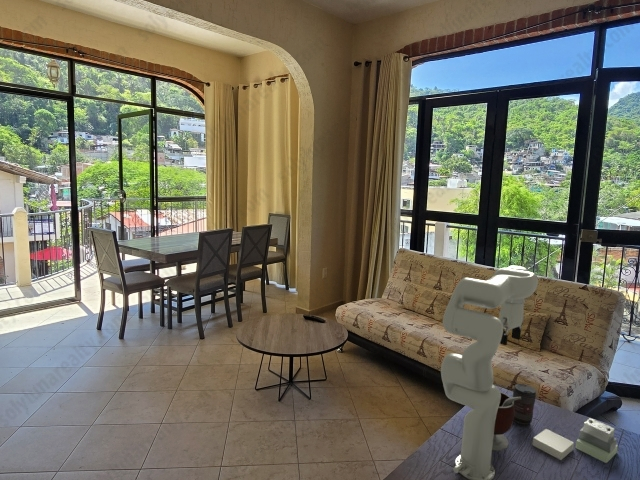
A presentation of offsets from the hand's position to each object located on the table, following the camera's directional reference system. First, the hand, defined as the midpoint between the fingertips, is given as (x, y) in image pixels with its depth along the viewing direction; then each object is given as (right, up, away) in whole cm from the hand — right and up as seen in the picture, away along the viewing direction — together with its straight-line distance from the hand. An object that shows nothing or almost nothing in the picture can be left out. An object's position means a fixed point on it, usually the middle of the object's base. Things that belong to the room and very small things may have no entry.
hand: (509, 341), depth 157 cm
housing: (+29, -36, -7) cm, 47 cm away
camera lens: (+9, -36, +10) cm, 38 cm away
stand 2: (+29, -39, -7) cm, 49 cm away
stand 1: (+14, -38, -6) cm, 41 cm away
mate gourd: (-7, -37, -3) cm, 38 cm away
